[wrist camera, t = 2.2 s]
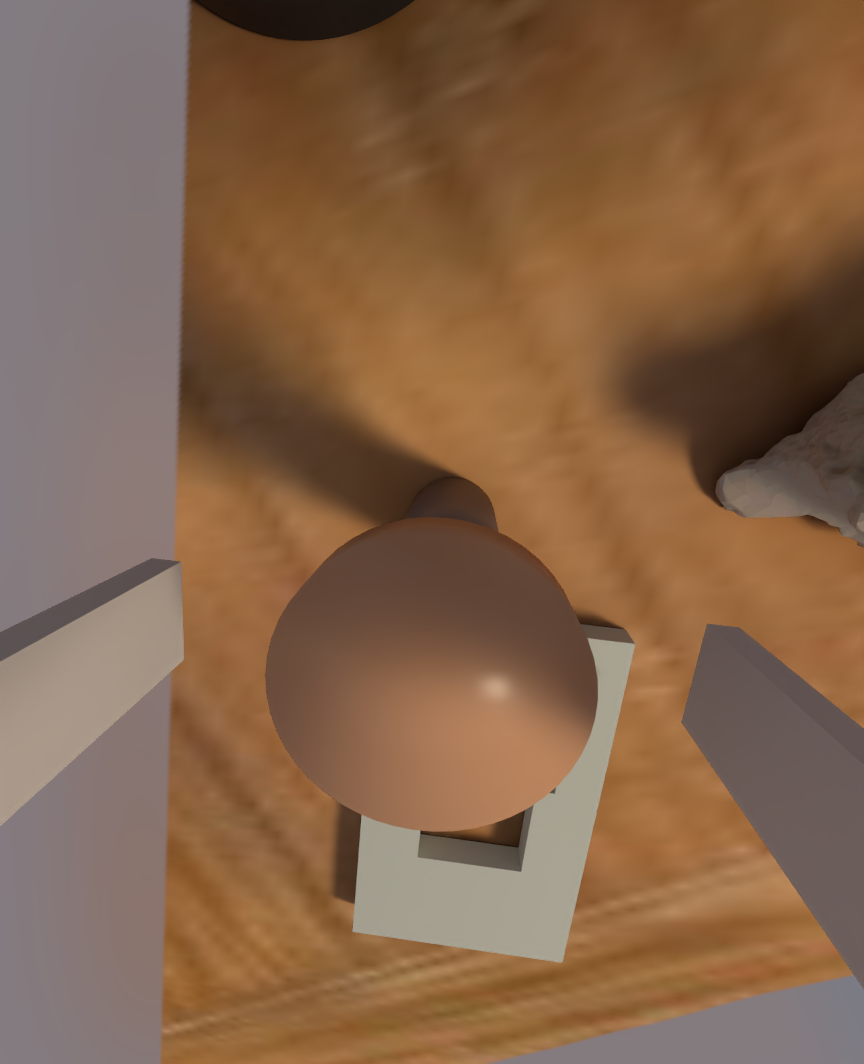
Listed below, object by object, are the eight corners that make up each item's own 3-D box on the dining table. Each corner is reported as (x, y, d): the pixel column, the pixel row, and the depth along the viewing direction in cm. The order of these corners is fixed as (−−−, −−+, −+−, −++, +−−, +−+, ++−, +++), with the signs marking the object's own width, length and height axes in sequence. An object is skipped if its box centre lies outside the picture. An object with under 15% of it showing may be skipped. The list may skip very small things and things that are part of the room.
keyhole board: (382, 600, 25) (376, 612, 23) (625, 629, 24) (635, 643, 23) (358, 906, 30) (352, 931, 29) (557, 935, 30) (562, 962, 28)
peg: (390, 444, 23) (267, 517, 9) (530, 459, 23) (629, 559, 9) (380, 575, 25) (263, 808, 11) (510, 590, 24) (566, 851, 10)
